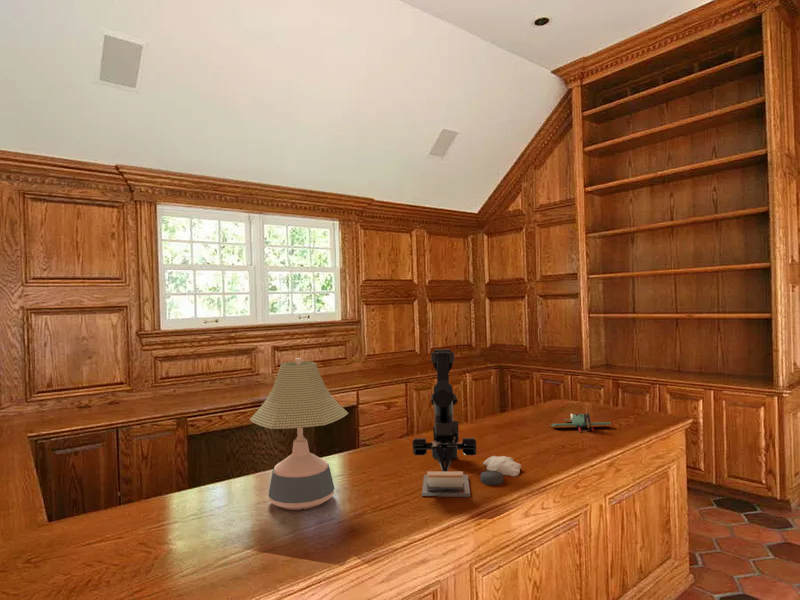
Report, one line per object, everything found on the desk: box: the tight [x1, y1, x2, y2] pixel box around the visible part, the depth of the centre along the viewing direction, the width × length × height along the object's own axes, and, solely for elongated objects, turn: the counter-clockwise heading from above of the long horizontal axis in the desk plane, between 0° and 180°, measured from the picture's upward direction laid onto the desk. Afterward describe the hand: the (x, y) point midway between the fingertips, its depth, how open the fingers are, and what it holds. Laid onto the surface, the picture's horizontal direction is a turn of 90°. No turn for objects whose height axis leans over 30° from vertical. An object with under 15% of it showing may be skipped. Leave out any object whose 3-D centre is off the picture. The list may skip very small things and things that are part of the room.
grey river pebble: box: [480, 470, 504, 486], centre depth 157 cm, size 7×7×2 cm
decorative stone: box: [482, 455, 522, 477], centre depth 168 cm, size 11×4×15 cm
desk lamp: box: [249, 357, 349, 511], centre depth 146 cm, size 26×28×42 cm
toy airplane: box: [550, 408, 612, 433], centre depth 221 cm, size 22×25×11 cm
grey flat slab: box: [421, 474, 471, 498], centre depth 153 cm, size 16×14×1 cm
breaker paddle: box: [426, 470, 464, 489], centre depth 145 cm, size 2×11×11 cm
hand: (445, 473), depth 143 cm, fingers closed
